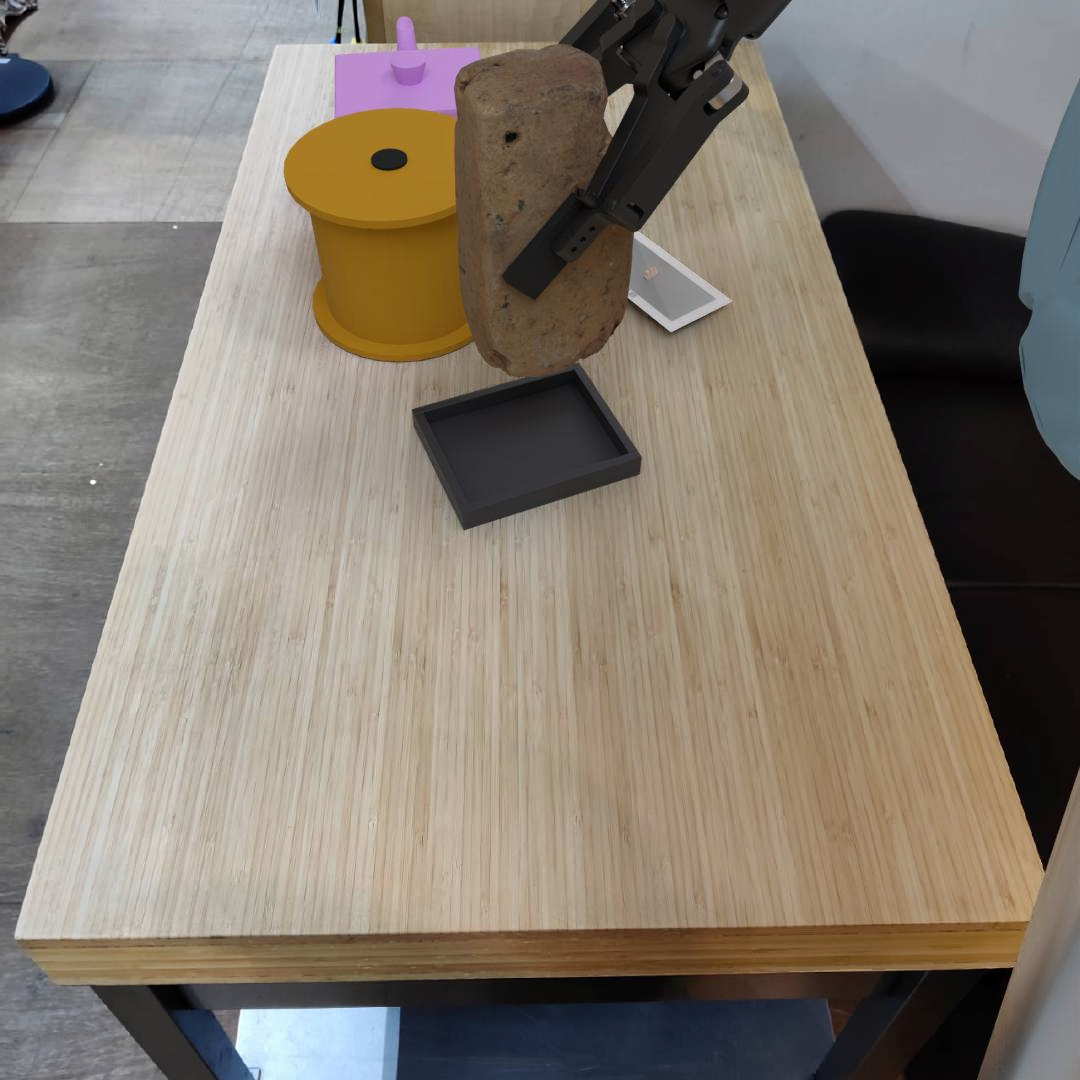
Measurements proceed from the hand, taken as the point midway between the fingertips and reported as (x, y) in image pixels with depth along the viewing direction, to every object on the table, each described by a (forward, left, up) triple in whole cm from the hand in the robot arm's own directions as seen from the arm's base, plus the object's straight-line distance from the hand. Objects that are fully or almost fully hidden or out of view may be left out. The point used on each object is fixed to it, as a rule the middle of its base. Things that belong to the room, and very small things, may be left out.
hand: (494, 251), depth 63 cm
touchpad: (+19, -23, -23) cm, 38 cm away
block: (0, -4, -9) cm, 9 cm away
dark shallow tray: (+3, -3, -23) cm, 23 cm away
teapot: (+46, -8, -23) cm, 52 cm away
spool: (+26, 0, -23) cm, 35 cm away
